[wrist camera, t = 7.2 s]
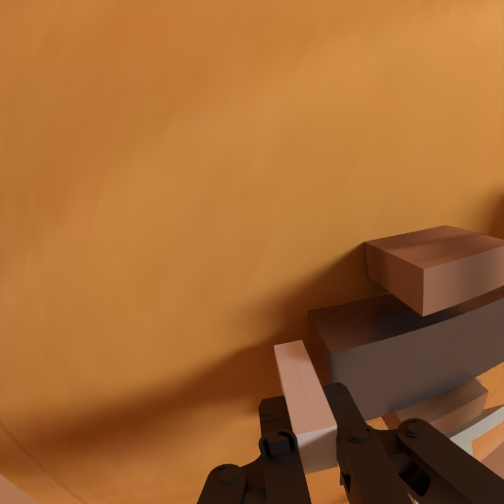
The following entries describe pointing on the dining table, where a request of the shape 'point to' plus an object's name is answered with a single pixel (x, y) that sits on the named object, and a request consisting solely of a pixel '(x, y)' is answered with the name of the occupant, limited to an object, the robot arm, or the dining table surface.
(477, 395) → the slot block
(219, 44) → the dining table surface
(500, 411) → the grey flat angled part
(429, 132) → the dining table surface
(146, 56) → the dining table surface
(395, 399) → the steel bar
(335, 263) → the dining table surface
